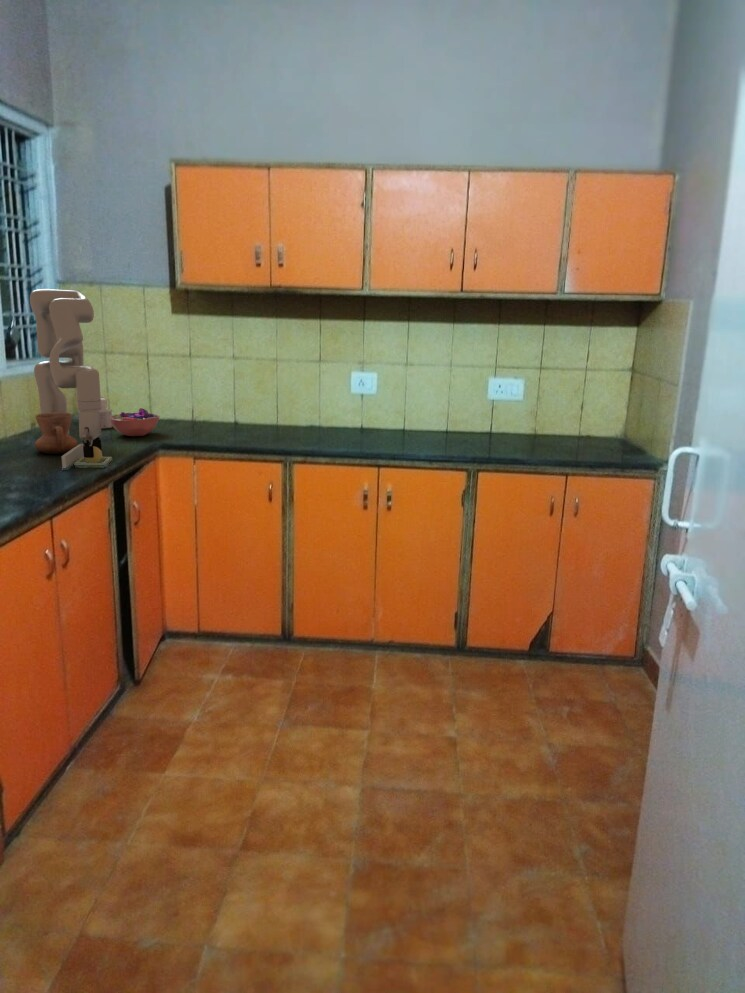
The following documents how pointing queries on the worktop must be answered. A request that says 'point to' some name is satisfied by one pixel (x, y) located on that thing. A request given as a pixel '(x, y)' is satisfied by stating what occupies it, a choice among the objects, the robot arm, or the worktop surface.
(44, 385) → the robot arm
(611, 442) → the worktop surface
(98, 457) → the ball
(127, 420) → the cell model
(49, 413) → the ceramic jug
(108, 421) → the container
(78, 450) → the wall
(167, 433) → the worktop surface
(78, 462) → the tray
